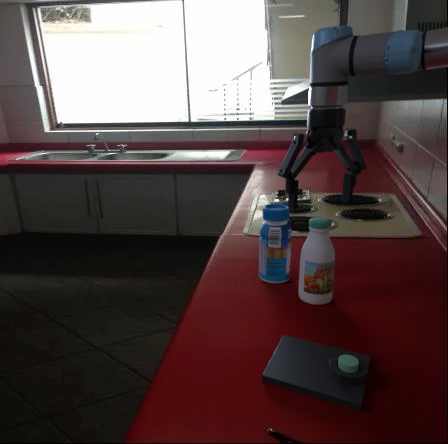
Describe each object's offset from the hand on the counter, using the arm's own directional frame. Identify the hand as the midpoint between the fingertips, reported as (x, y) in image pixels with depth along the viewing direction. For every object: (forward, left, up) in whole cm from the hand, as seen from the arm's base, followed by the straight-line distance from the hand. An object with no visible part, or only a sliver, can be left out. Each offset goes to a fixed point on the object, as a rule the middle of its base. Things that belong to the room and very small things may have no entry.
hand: (319, 204), depth 94 cm
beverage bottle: (+12, -7, -24) cm, 27 cm away
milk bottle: (0, 0, -24) cm, 24 cm away
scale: (-6, +28, -24) cm, 37 cm away
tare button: (-11, +28, -21) cm, 37 cm away
